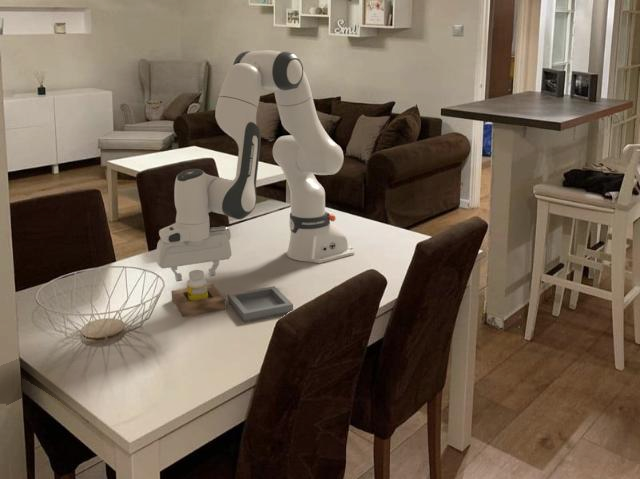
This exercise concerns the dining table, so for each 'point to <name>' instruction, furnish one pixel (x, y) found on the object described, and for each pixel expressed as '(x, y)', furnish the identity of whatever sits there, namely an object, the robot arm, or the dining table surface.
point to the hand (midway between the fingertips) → (195, 277)
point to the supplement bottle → (197, 286)
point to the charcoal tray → (259, 303)
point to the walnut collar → (198, 302)
